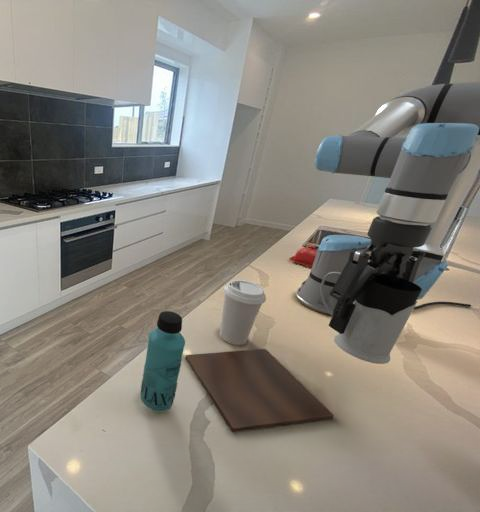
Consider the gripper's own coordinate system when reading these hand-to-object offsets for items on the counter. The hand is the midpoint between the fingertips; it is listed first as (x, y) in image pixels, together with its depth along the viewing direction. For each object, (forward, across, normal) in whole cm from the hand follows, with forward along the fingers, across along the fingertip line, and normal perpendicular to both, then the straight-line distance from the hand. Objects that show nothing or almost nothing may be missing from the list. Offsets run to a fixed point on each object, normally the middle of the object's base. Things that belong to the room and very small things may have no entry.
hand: (354, 328), depth 61 cm
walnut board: (+14, +19, -1) cm, 24 cm away
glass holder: (+3, +1, 0) cm, 4 cm away
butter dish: (+15, -52, -62) cm, 82 cm away
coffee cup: (+14, +13, -17) cm, 26 cm away
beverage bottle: (+14, +41, +1) cm, 44 cm away
